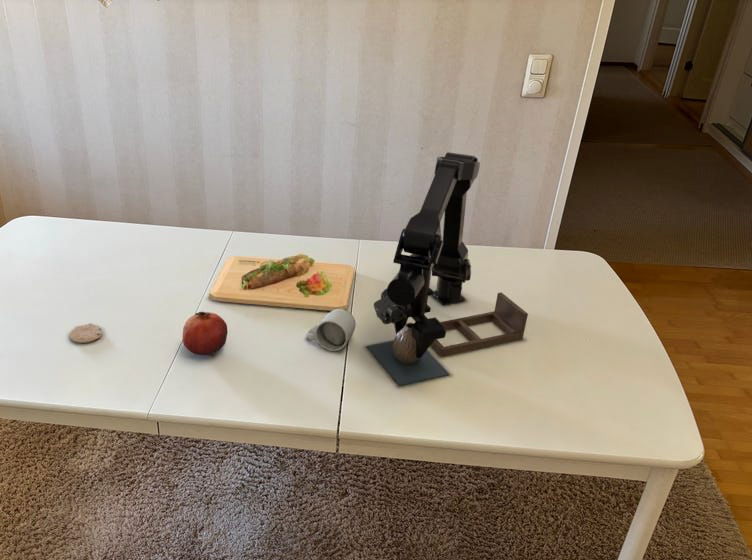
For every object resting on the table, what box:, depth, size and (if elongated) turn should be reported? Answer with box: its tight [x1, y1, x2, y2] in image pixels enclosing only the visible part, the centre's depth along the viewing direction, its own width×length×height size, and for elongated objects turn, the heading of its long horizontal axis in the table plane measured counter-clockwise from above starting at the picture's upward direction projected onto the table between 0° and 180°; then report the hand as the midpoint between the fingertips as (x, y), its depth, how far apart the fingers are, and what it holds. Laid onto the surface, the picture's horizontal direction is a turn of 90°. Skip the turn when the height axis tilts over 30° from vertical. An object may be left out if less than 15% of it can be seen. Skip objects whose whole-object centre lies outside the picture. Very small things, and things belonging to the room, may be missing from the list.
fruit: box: [181, 311, 229, 356], centre depth 163 cm, size 11×10×10 cm
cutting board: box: [208, 253, 355, 312], centre depth 188 cm, size 35×23×8 cm
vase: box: [392, 322, 420, 364], centre depth 159 cm, size 7×7×9 cm
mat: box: [366, 340, 450, 387], centre depth 161 cm, size 16×12×1 cm
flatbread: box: [68, 322, 103, 343], centre depth 171 cm, size 8×8×1 cm
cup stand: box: [430, 291, 529, 358], centre depth 167 cm, size 11×21×7 cm, turn 109°
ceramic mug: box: [306, 309, 357, 352], centre depth 166 cm, size 11×8×8 cm
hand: (408, 346), depth 159 cm, fingers open, 9 cm apart
